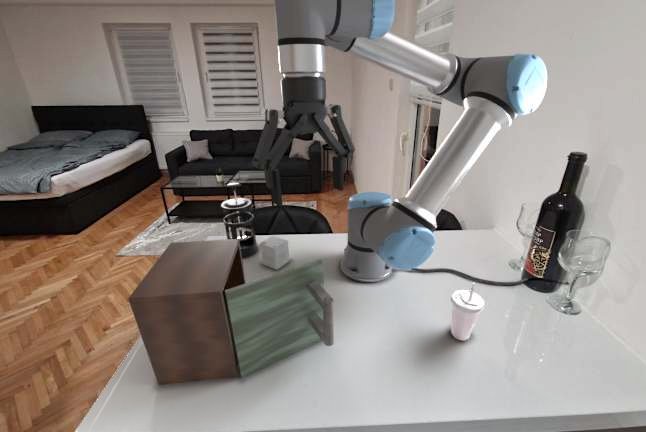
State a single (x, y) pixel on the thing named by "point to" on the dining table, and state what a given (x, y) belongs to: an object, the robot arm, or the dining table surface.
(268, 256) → the product carton
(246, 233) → the french press
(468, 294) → the smoothie
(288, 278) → the door
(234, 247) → the cupboard
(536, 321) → the dining table surface
